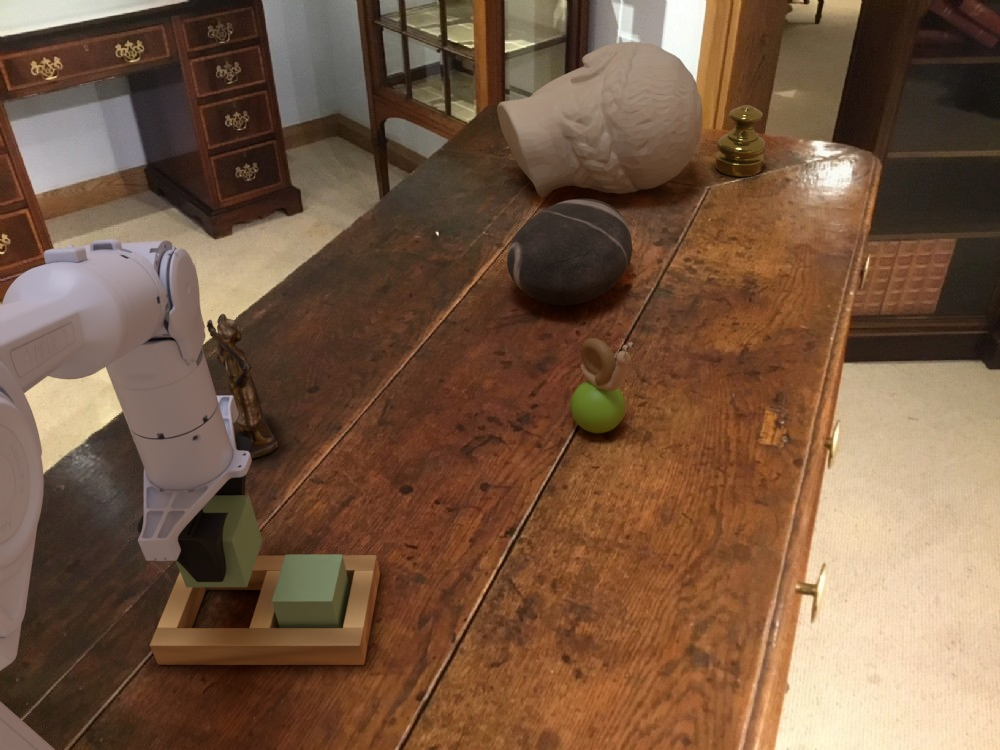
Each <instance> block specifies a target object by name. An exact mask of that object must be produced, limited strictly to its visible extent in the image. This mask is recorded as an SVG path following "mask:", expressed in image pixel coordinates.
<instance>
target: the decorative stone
mask: <svg viewBox="0 0 1000 750" xmlns="http://www.w3.org/2000/svg"><path fill="white" fill-rule="evenodd" d="M632 255H633V241H632V233H631V231H630V227H629V226H628V223H627V221H626V219H625V217H624V216H623V215H622V213H621V212H619V210H618V209H616V208H615V207H614V206H612V205H610V204H609V203H606V202H604V201H601V200H597V199H593V198H575V199H574V198H573V199H567V200H564V201H560V202H558V203H555V204H553V205H550V206H549V207H546V208H544V209H543V210H542V211H540V212H538V213H536V214H535V215H534V216H533V217H532V218H530V220H528V221H527V222H526V223H524V224H523V226H521V227H520V229H518V231H517V232H516V234H515V235H514V237H513V238H512V241H511V243H510V245H509V248H508V252H507V258H506V265H507V270H508V273H509V276H510V278H511V280H512V282H514V284H515V285H516V286H517V288H519V289H520V290H521V291H522V292H523V293H524V294H526V295H528V296H530V297H531V298H532V299H535V300H537V301H539V302H542V303H545V304H548V305H553V306H558V307H559V306H560V307H567V306H575V305H580V304H584V303H587V302H589V301H592V300H595V299H596V298H599V297H600V296H602V295H604V294H605V293H606V292H608V291H609V290H610V289H612V288H613V287H614V286H615V285H616V284H617V283H618V282H619V280H620V279H621V278H622V277H623V275H624V274H625V273H626V271H627V269H628V268H629V265H630V263H631V259H632Z"/></svg>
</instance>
